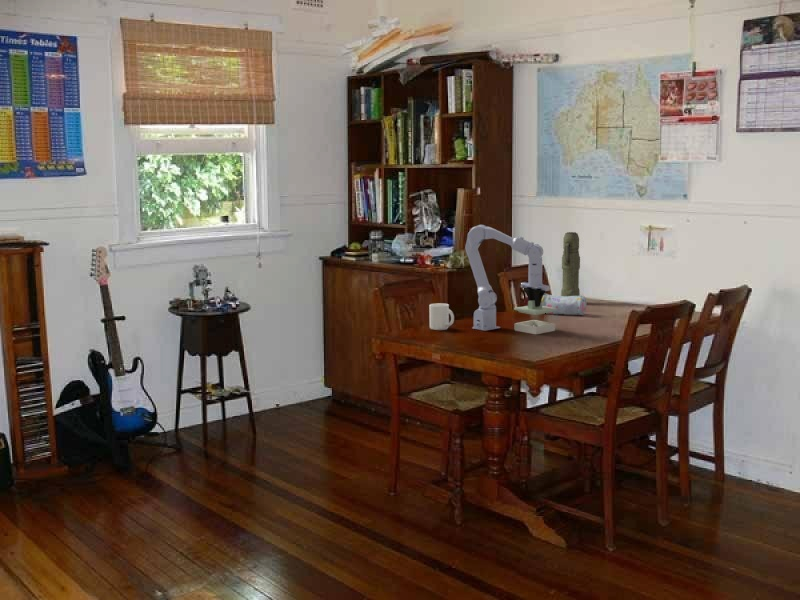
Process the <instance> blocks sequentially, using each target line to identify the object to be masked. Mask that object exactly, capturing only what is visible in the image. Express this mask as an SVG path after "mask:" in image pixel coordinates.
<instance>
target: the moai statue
mask: <svg viewBox="0 0 800 600" xmlns="http://www.w3.org/2000/svg"><path fill="white" fill-rule="evenodd" d="M562 242H563V245H562V246H563V247H562V248H563V251H562V257H561V269H562V287H561V293H560V294H561V295H560V296H581V294H580V292H581V291H580V287H579V283H580V281H579V280H580V269H581V257H580V256H581V255H580V250H579V249H580V237H579V234H578V233H577V232H575V231H574V232H573V231H570V232H569V231H568V232H565V234H564V236H563V240H562Z"/></svg>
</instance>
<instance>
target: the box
mask: <svg viewBox="0 0 800 600" xmlns="http://www.w3.org/2000/svg"><path fill="white" fill-rule="evenodd" d="M513 331H515V332H520V333H525V334H532V335H540V334H545V333H550V332H551V333H552V332H555V331H556V323H554V322H547V321H543V320H537V319H531V320H526V321H520V322H516V323H515V322H514V330H513Z"/></svg>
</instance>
